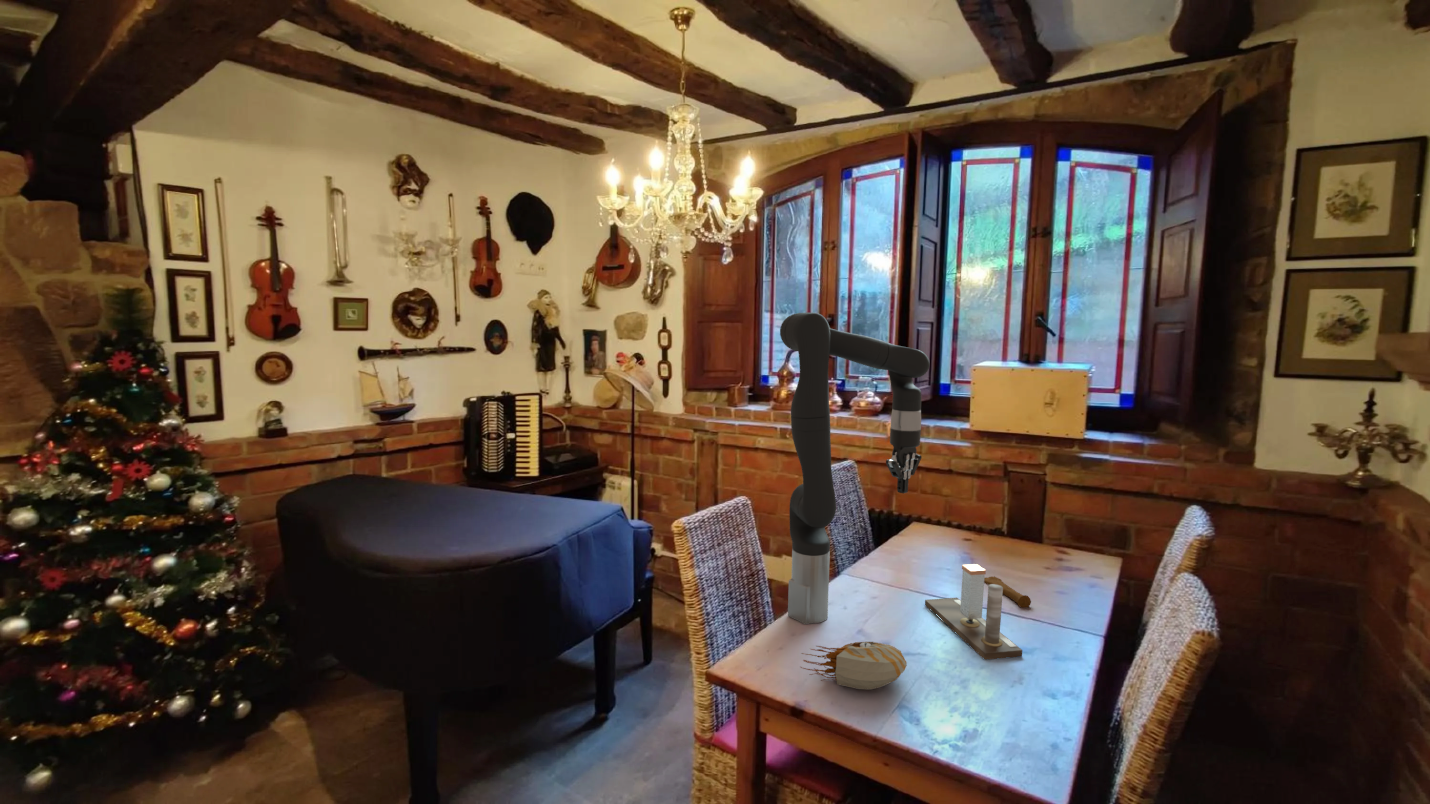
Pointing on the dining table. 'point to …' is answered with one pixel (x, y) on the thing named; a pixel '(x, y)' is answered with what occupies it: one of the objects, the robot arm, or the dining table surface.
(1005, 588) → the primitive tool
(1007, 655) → the wooden base plate
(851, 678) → the nautilus
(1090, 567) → the dining table surface
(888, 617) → the dining table surface
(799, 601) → the robot arm
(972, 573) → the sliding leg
